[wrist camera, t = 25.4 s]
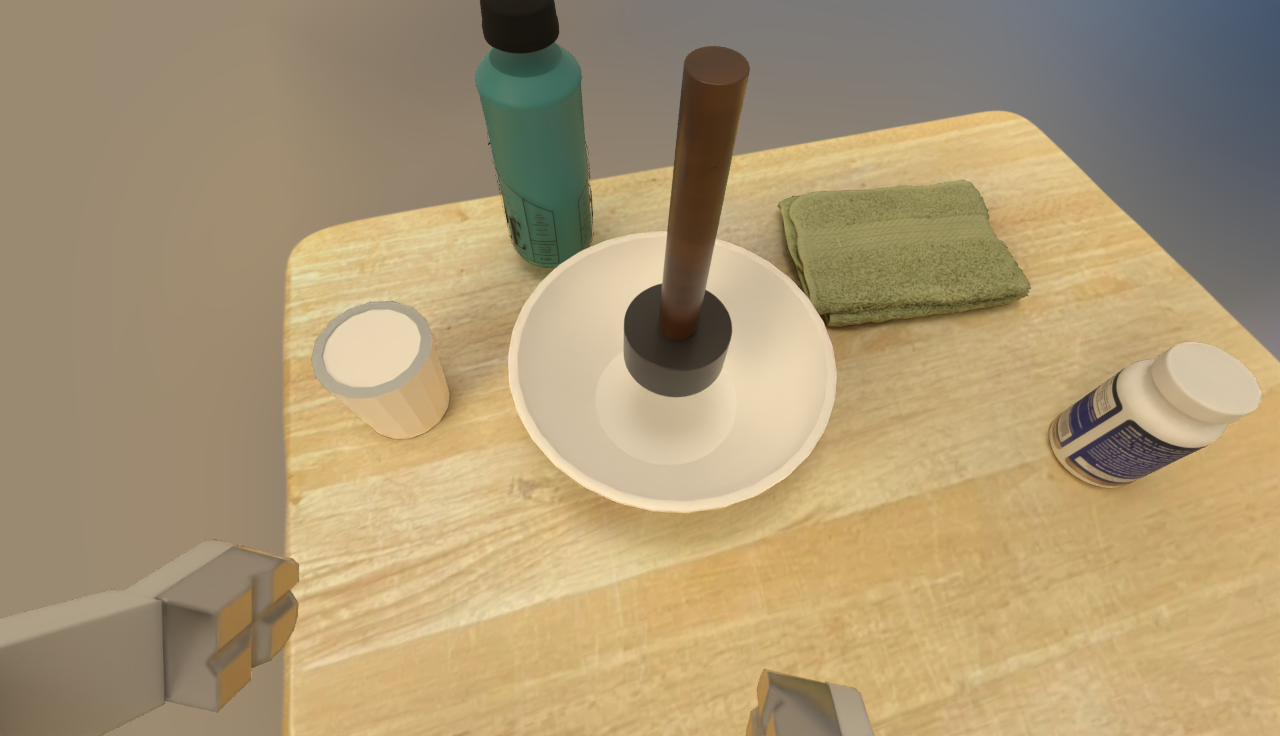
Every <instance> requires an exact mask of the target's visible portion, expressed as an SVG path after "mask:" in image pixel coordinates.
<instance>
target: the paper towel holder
mask: <svg viewBox="0 0 1280 736" xmlns="http://www.w3.org/2000/svg"><path fill="white" fill-rule="evenodd" d="M749 71H750V68H749V63H748V61H747V60H746V58H745V57H744V56H743V55H741V54H740V53H738V52H736V51H734V50H732V49H729V48H725V47H719V46H718V47H717V46H709V47H702V48H699V49H696V50H694V51H692V52H691V53H689V54H688V56H687V57H686V59H685V61H684V69H683V80H682V89H681V100H680V110H679V120H678V130H677V140H676V150H675V161H674V170H673V180H672V190H671V200H670V210H669V220H668V230H667V240H666V250H665V260H664V270H663V281H662V284H658V285H655V286H652V287H650V288H648V289H646V290H644V291H643V292H641V293H640V294H639V295H638V296H636V297H635V298H634V300H633V301H632V302H631V303H630V305H629V306H628V309H627V311H626V314H625V317H624V346H623V353H624V361H625V364H626V367H627V369H628V371H629V373H630V374H631V376H632V377H633V378H634V379H635V381H636V382H637V383H639V384H640V385H641V386H642V387H644V388H645V389H647V390H649V391H651V392H653V393H655V394H658V395H662V396H666V397H686V396H690V395H694V394H697V393H699V392H701V391H703V390H705V389H706V388H708V387H709V386H710V385H711V384H712V383H713V382H714V381H715V380H716V379H717V378H718V376H719V374H720V373H721V371H722V368H723V364H724V361H725V358H726V354H727V351H728V347H729V344H730V341H731V336H732V322H731V318H730V315H729V313H728V311H727V309H726V308H725V306H724V305H723V303H722V302H721V301H720V300H719V299H718V298H717V297H716V296H715V295H713V294H712V293H710V292H709V291H707V290H706V285H707V280H708V275H709V270H710V265H711V260H712V255H713V250H714V245H715V240H716V235H717V230H718V225H719V220H720V215H721V210H722V205H723V200H724V195H725V190H726V185H727V180H728V175H729V170H730V165H731V160H732V155H733V150H734V145H735V140H736V135H737V130H738V125H739V120H740V115H741V110H742V105H743V100H744V95H745V90H746V85H747V81H748V75H749Z"/></svg>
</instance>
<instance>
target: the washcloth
mask: <svg viewBox="0 0 1280 736" xmlns="http://www.w3.org/2000/svg"><path fill="white" fill-rule="evenodd" d="M778 207H779V209H780V210H781V213H782V216H783V221H784V228H785V235H786V241H787V244H788V249H789V251H790V254H791V256H792V259H793V260H794V262H795V264H796V267H797V271H798V275H799V279H800V281H801V284H802V287H803V290H804V293H805V295H806V296H807V297H808V298H809V300H810V301H811V303H812V304H813V306H814V308H815V309H816V311H817V312H818V314H820V315H825V319H826V324H827V325H828V326H837V327H842V326H845V325H856V324H863V323H866V322H867V323H868V322H873V323H876V322H877V323H879V322H885V321H886V320H892V319H898V318H902V319H908V318H911V317H912V318H917V317H923V316H929V315H936V314H946V313H948V312H949V313H952V312H955V313H958V312H962V311H963V312H964V311H966V310H967V309H969V310H970V309H973V310H974V309H978V308H979V307H980V308H983V309H984V308H987V307H988V308H989V307H991V306H994V305H995V306H996V305H998V306H1002V305H1007V304H1009V303H1011V302H1013V301H1016V300H1019V299H1020V298H1023V297H1025V296H1028V294H1027V293H1028V292H1029V289H1031V287H1030V283H1029V282H1028V279H1027V278H1026V276H1025V275H1024V274H1023V272H1022V270H1021V269H1020V268H1019V267H1018V264H1017V262H1016V261H1015V260H1014V259H1013V256H1012V255H1011V254H1010V252H1009V251H1008V250H1007V249H1008V247H1007V246H1006V245H1005V243H1004V242H1003V241H999V240H998V239H997V236H996V235H995V233H994V232H993V230H992V228H991V227H990V225H989V222H988V219H989V214H988V209H987V208H986V206H985V203H984V200H983V197H981V196H980V193H979V191H978V190H977V189H976V188H975V187H974V185H973V184H972V183H970V182H968V181H965V180H962V181H951V182H944V183H938V184H936V185H930V186H898V187H890V188H878V189H868V190H855V191H853V190H845V191H818V192H811V193H807V194H804V195H802V196H792V197H791V198H787V199H784V200H782V201H781V202H779V204H778Z"/></svg>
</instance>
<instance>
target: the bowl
mask: <svg viewBox="0 0 1280 736" xmlns="http://www.w3.org/2000/svg"><path fill="white" fill-rule="evenodd" d="M666 240H667V231H656V232H644V233H633V234H629V235H625V236H621V237H617V238H613V239H609V240H606V241H603V242H601V243H599V244H596V245H594V246H591V247H589V248H587V249H584V250H582V251H580V252H579V253H577V254H576V255H574V256H572V257H571V258H569V259H568V260H566V261H565V262H563V263H561V264H560V265H558V266H557V267H556V268H555V269H554V270H553V271H552V272H551V273H550V274H549V275H548V276H547V277H546V278H544V279H543V280H542V281H541V282H540V283H539V284H538V286H537V287H536V289H535V290H534V291H533V293H532V294H531V295H530V297H529V298H528V300H527V301H526V302H525V304H524V305H523V308H522V310H521V312H520V314H519V317H518V319H517V321H516V324H515V326H514V328H513V332H512V337H511V342H510V348H509V353H508V371H509V386H510V389H511V393H512V396H513V400H514V403H515V407H516V410H517V413H518V415H519V417H520V419H521V420H522V422H523V424H524V426H525V428H526V429H527V431H528V433H529V435H530V437H531V439H532V440H533V441H534V442H535V444H536V445H537V446H538V447H539V448H540V449H541V450H542V451H543V453H544V454H545V455H546V456H547V457H548V458H549V459H550V461H551V462H552V463H553V464H554V465H555V466H556V467H557V468H559V469H560V470H561V471H563V472H564V473H565V474H567V475H568V476H569V477H571V478H572V479H573V480H575V481H576V482H577V483H579V484H580V485H581V486H583V487H584V488H586V489H588V490H590V491H593V492H595V493H597V494H599V495H601V496H603V497H605V498H607V499H609V500H612V501H614V502H616V503H620V504H624V505H628V506H632V507H636V508H640V509H644V510H648V511H654V512H673V513H692V512H699V511H706V510H713V509H720V508H724V507H727V506H730V505H732V504H735V503H738V502H741V501H744V500H747V499H749V498H752V497H755V496H757V495H759V494H760V493H762V492H764V491H765V490H767V489H768V488H770V487H772V486H773V485H775V484H777V483H778V482H780V481H781V480H783V479H785V478H786V477H787V476H788V475H789V474H791V473H792V472H793V471H794V470H795V469H796V468H797V467H798V466H799V465H800V464H801V463H802V462H803V461H804V460H805V459H806V458H807V457H808V456H809V455H810V453H811V452H812V450H813V448H814V447H815V445H816V444H817V442H818V441H819V439H820V437H821V436H822V434H823V433H824V431H825V429H826V426H827V423H828V420H829V417H830V414H831V411H832V408H833V405H834V402H835V392H836V380H837V371H836V364H835V357H834V351H833V346H832V343H831V341H830V338H829V335H828V333H827V330H826V327H825V325H824V322H823V320H822V319H821V317H820V316H819V314H818V312H817V311H816V309H815V308H814V306H813V304H812V303H811V301H810V300H809V298H808V297H807V296H806V295H805V294H804V293H803V292H802V291H801V289H800V288H799V287H798V286H797V285H796V284H795V283H794V282H793V281H792V280H791V279H790V278H789V277H788V276H787V275H785V274H784V273H783V272H781V271H780V270H779V269H778V268H776V267H775V266H774V265H772V264H771V263H770V262H768V261H767V260H765V259H763V258H761V257H759V256H758V255H756V254H754V253H752V252H750V251H748V250H747V249H745V248H743V247H740V246H737V245H734V244H732V243H729V242H726V241H723V240H721V239H718V238H716V240H715V245H714V250H713V255H712V260H711V265H710V270H709V275H708V280H707V285H706V290H707V291H709V292H710V293H712V294H713V295H715V296H716V297H717V298H718V299H719V300H720V301H721V302H722V303H723V305H724V306H725V308H726V309H727V311H728V313H729V315H730V318H731V322H732V336H731V341H730V344H729V347H728V351H727V354H726V358H725V361H724V364H723V368H722V371H721V373H720V374H719V376H718V378H717V379H716V380H715V381H714V382H713V383H712V384H711V385H710V386H709V387H708V388H706V389H705V390H703V391H701V392H699V393H697V394H694V395H690V396H686V397H666V396H662V395H658V394H655V393H653V392H651V391H649V390H647V389H645V388H644V387H642V386H641V385H640V384H639V383H637V382H636V381H635V379H634V378H633V377H632V376H631V374H630V373H629V371H628V369H627V367H626V364H625V361H624V353H623V346H624V317H625V314H626V311H627V309H628V306H629V305H630V303H631V302H632V301H633V300H634V298H635V297H636V296H638V295H639V294H640V293H641V292H643V291H644V290H646V289H648V288H650V287H652V286H655V285H658V284H662V281H663V270H664V260H665V250H666Z"/></svg>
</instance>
